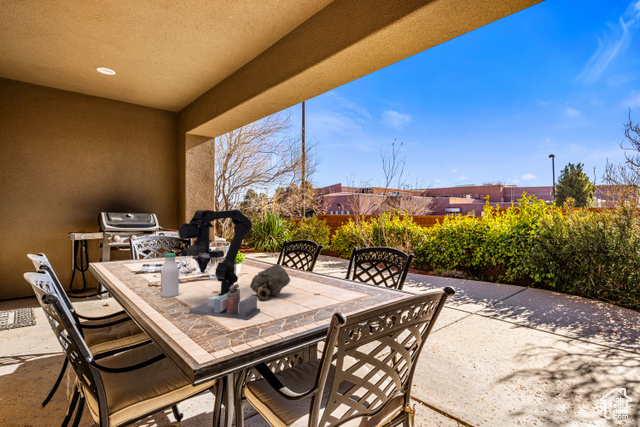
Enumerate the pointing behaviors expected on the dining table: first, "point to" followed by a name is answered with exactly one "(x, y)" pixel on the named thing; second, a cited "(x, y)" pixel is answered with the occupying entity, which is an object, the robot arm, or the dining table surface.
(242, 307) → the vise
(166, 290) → the milk bottle
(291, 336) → the dining table surface
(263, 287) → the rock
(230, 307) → the lighter
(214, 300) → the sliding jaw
